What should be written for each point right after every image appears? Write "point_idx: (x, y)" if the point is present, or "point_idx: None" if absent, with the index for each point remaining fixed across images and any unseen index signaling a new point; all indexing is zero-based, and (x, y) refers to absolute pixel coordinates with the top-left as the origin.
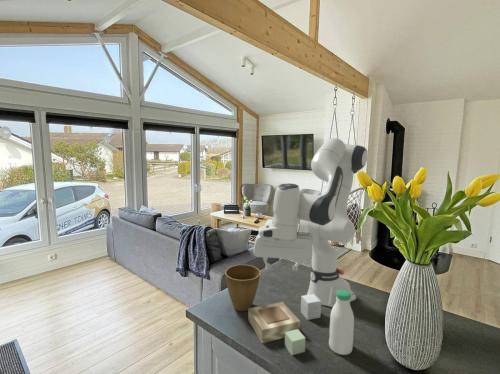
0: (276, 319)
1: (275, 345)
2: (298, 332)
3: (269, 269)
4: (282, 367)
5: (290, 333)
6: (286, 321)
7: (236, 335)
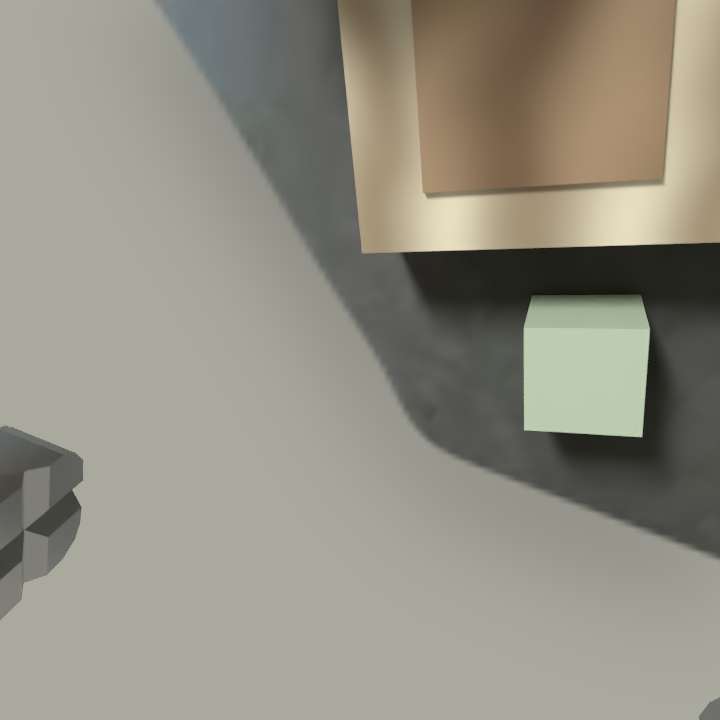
0: (525, 161)
1: (470, 276)
2: (629, 365)
3: (56, 549)
4: (437, 438)
5: (557, 354)
6: (608, 207)
7: (246, 100)
